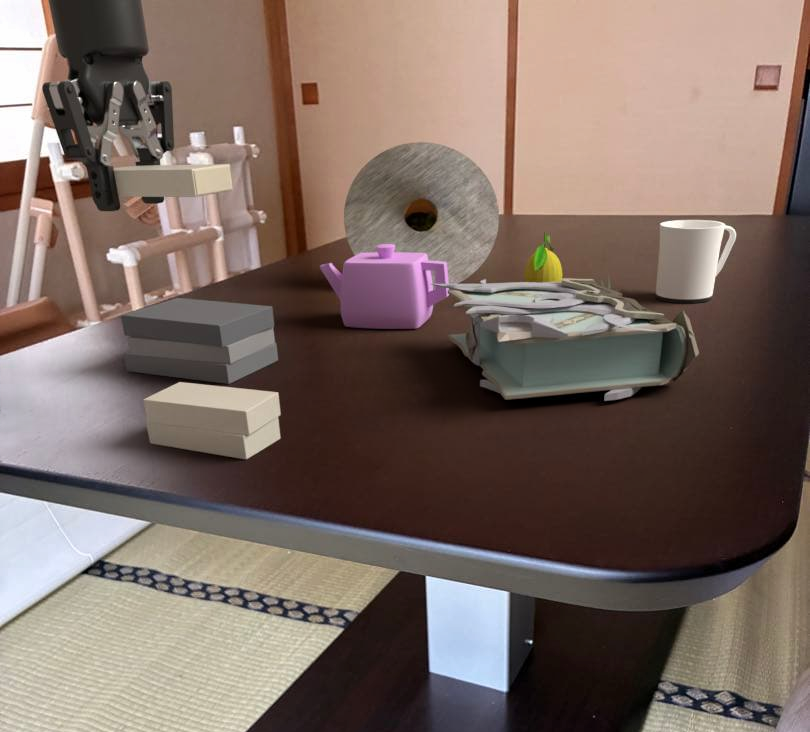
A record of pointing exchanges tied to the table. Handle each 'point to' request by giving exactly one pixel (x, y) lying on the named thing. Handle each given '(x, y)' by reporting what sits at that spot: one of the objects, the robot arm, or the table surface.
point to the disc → (424, 207)
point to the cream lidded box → (213, 419)
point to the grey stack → (200, 339)
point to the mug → (690, 259)
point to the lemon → (543, 265)
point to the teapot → (387, 288)
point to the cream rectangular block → (173, 180)
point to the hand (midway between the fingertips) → (132, 206)
